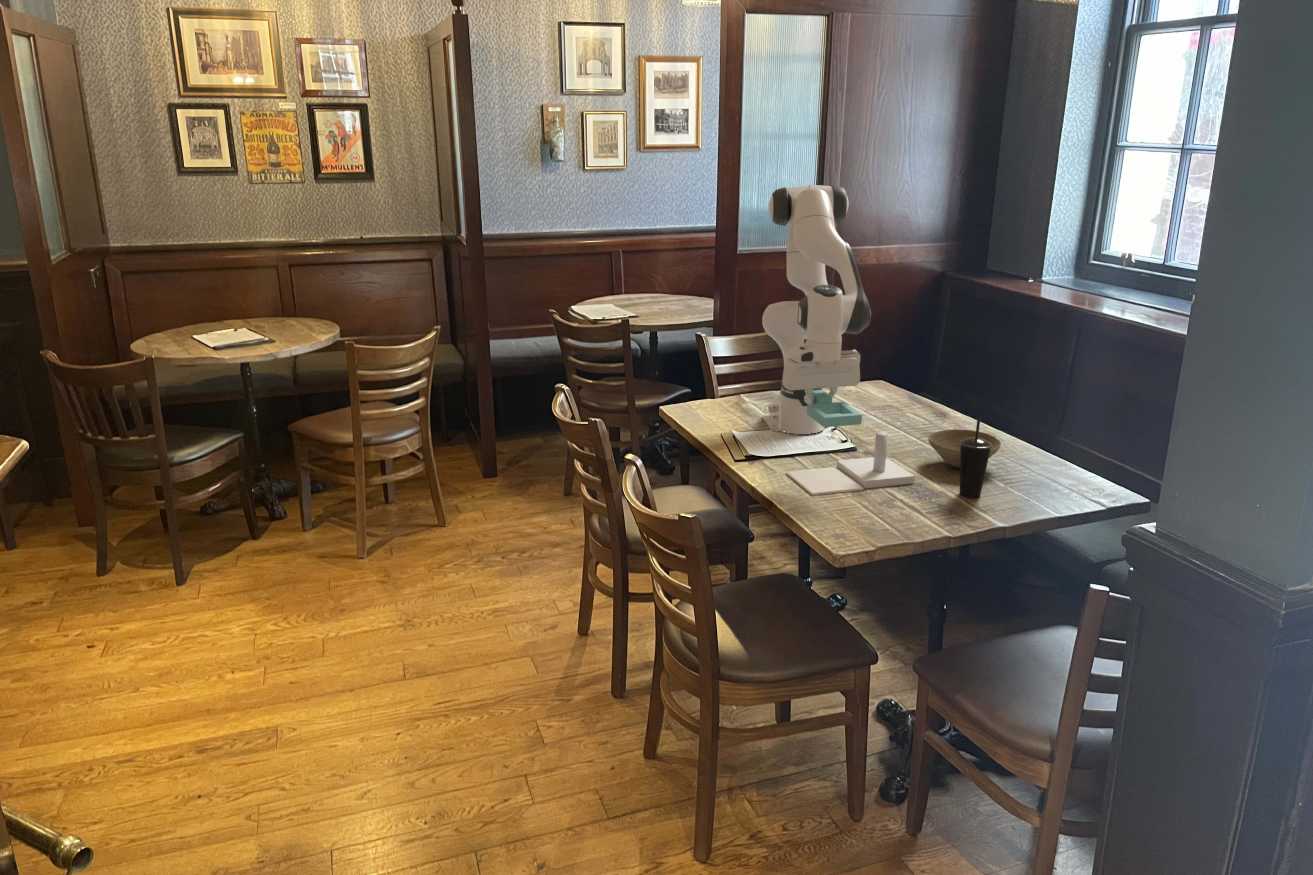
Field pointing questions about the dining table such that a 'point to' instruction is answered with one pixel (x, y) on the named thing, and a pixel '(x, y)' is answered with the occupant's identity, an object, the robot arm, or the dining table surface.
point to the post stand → (876, 468)
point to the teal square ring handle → (832, 411)
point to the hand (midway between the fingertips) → (820, 404)
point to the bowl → (957, 444)
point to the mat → (824, 481)
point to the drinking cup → (973, 464)
